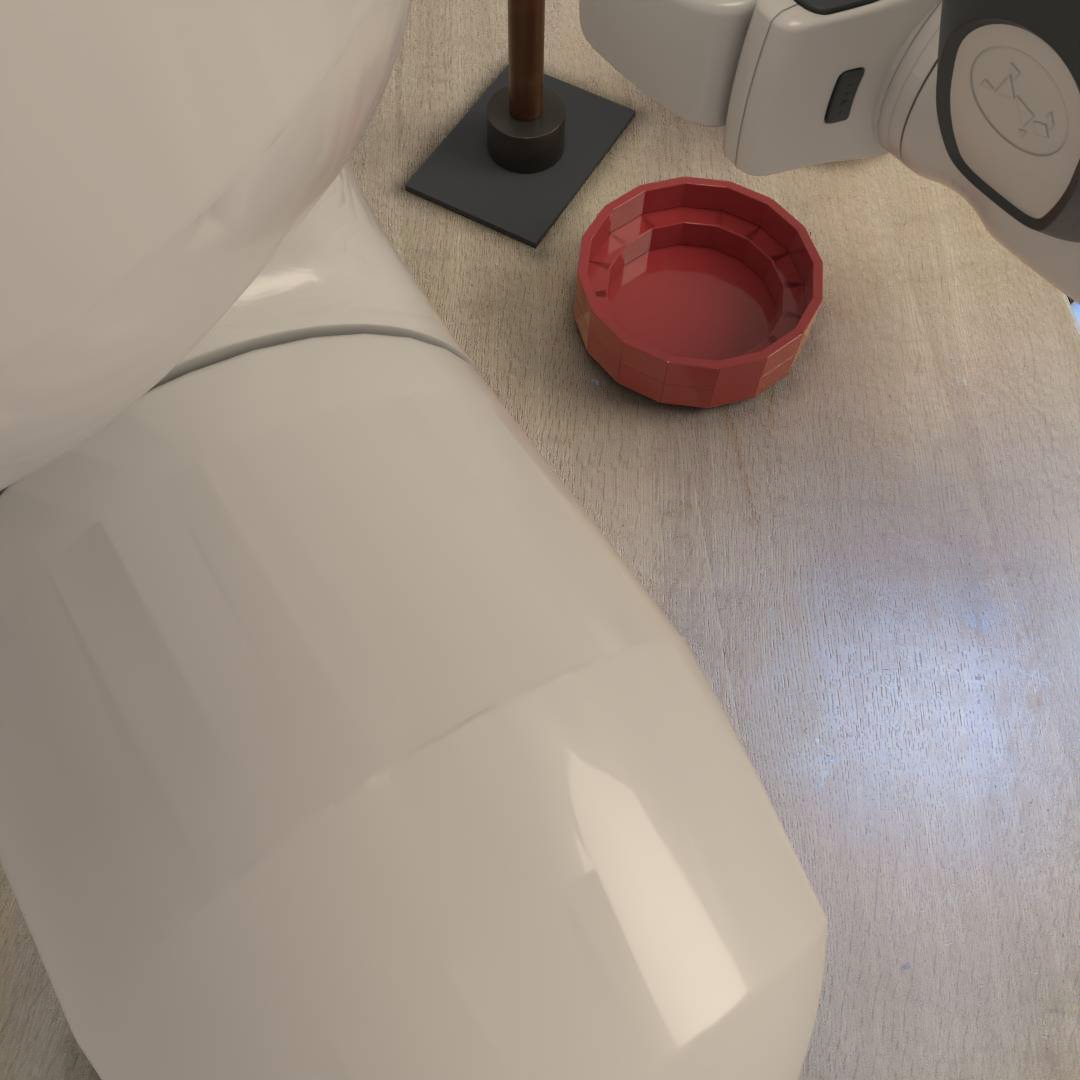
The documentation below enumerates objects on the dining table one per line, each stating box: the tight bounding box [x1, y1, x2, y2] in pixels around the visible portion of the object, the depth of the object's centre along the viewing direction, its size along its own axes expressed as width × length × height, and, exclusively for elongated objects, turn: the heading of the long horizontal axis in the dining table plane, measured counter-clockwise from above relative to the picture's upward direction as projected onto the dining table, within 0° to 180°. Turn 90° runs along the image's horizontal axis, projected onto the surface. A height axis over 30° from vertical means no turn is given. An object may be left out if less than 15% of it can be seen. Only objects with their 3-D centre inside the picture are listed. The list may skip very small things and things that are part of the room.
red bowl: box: [573, 176, 824, 409], centre depth 62 cm, size 14×14×4 cm
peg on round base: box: [486, 0, 566, 174], centre depth 62 cm, size 5×5×18 cm
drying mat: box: [404, 64, 637, 248], centre depth 70 cm, size 14×10×1 cm
